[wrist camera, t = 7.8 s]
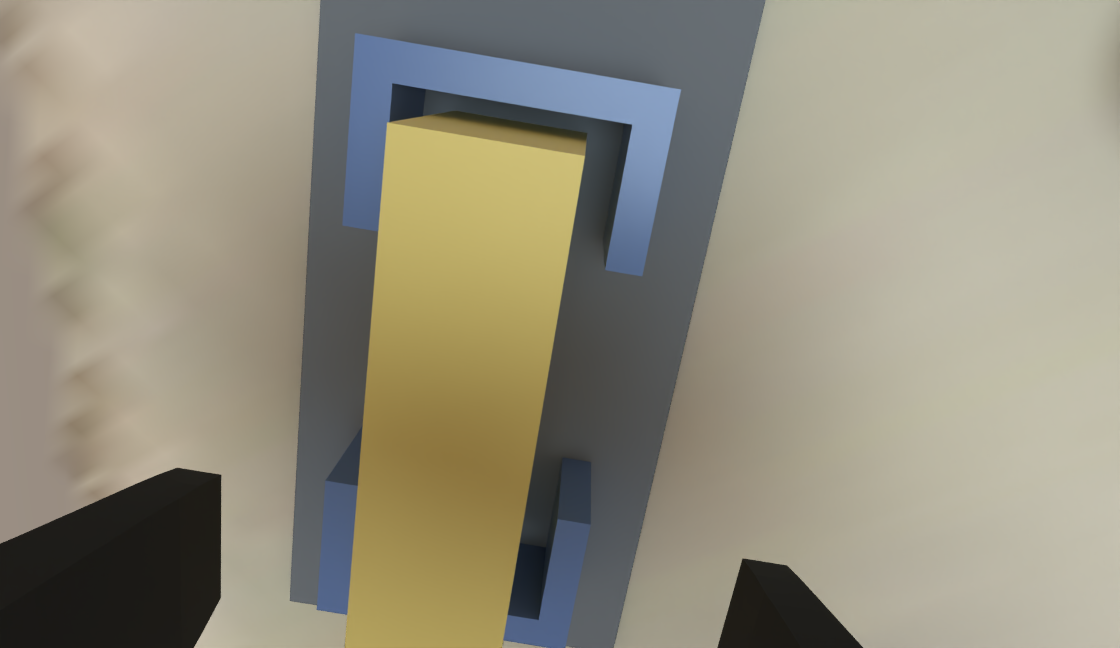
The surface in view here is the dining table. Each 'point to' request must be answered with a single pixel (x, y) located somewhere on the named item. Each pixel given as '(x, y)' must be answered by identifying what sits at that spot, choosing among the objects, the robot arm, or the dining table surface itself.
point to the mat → (589, 290)
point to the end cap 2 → (539, 571)
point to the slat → (457, 372)
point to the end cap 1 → (408, 69)
